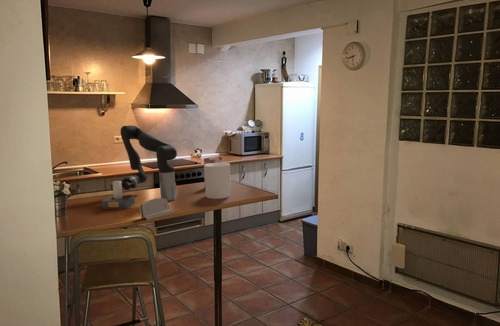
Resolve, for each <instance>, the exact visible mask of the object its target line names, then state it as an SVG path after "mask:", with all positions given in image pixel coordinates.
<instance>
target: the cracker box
mask: <svg viewBox="0 0 500 326" xmlns="http://www.w3.org/2000/svg"><path fill="white" fill-rule="evenodd" d="M209 163H223V156H221V155H212V156H209V157H203V176H204V177H203V179H204V181H203V182H205V167H204V165H205V164H209Z"/></svg>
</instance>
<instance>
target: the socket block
mask: <svg viewBox="0 0 500 326" xmlns="http://www.w3.org/2000/svg"><path fill="white" fill-rule="evenodd" d="M135 201H136V199H135V195H134V194H132V195H131V194H123V199H114V195H110V196H108V197H106V198H104V199H103V200H101V201H100V202H101V210H128V209H129V208H130V207H132V206H133V205H135V204H136V202H135ZM134 203H135V204H134Z"/></svg>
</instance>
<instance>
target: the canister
mask: <svg viewBox="0 0 500 326" xmlns="http://www.w3.org/2000/svg"><path fill="white" fill-rule="evenodd" d="M204 167H205V181H204V188H205V198H207V199H213V200H217V199H218V200H219V199H225V198H226V199H227V198H230V197H232V184H231V183H232V181H231V179H232V178H231V164H230V162H222V163H209V164H205V165H204V164H203V168H204Z"/></svg>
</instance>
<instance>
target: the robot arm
mask: <svg viewBox="0 0 500 326" xmlns="http://www.w3.org/2000/svg"><path fill="white" fill-rule="evenodd" d="M120 137H121V139H122V142H123V145H124V147H125V151H126V153H127V156H128V160H129V166H130V170H131V171H138V172H136V173H132V174H131V175H129V176H126V177H124V178H123V179H122V180H121V181H122V190H125V191H130V190H132V189H135V188H137V187H138V186H137V185H139V184H142V183H146V182H147V177H148V176H147V174H146V172H145V170H144V168H143V166H142V162H141V156H140V155H139V153H138V152H137V150H136V149H135V148H134V147H133V144H132V143H131V141H130V140H137V141H138V144H139V146H140V147H141V148H143V149H145V150H146V151H149V152H154V153H156V155H155V156H156V164H157V168H158V176H159V177H158V178H159V189H160V190H159V191H160V198H163V199H167V201H168V202H170V201H175V200H176V199H177V198H178V194H177V193H178V192H177V190H178V189H177V183H176V177H175V167H174V166H172V165H169V164H168V161H169V162H170V161H172V160H174V159H176V157H178V156H177V155H178V151H177V149H176V148H175V147H174V146H173V145H172V144H169V143H167V142H163V141H161V140H160V139H158V138H156V137H154V136H152V135H151V134H149V133H147V132H145V131H143V130H142V129H140V128H139V127H138V126H137V125H122V126H121V127H120ZM110 189H111V190H112V191H113V183H111V184H110Z"/></svg>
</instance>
